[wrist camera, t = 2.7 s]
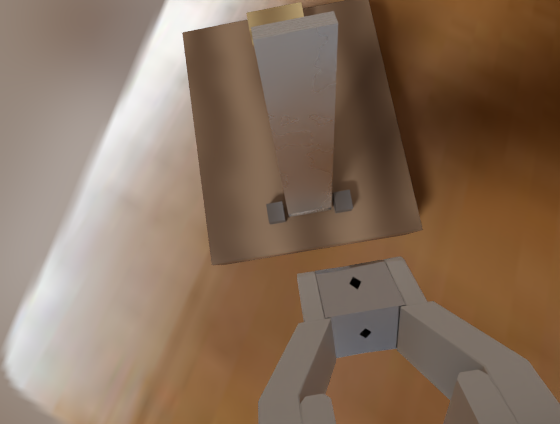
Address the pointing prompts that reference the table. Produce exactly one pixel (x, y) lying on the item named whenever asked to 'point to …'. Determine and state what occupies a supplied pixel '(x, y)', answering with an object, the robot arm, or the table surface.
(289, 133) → the strap
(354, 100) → the base
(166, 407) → the table surface
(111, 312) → the table surface
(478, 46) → the table surface
